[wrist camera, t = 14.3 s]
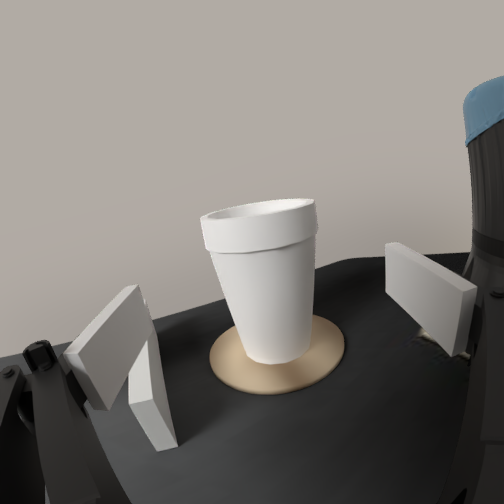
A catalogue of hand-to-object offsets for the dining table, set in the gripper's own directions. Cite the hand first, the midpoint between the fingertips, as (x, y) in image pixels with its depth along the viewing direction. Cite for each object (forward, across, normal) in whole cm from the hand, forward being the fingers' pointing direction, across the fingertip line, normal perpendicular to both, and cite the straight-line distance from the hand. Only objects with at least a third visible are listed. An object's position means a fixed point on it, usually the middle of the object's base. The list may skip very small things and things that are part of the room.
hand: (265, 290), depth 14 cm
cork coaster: (+10, 0, -11) cm, 15 cm away
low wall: (+7, -12, -11) cm, 17 cm away
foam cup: (+10, 0, -10) cm, 14 cm away
